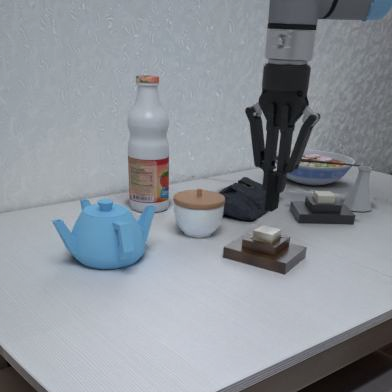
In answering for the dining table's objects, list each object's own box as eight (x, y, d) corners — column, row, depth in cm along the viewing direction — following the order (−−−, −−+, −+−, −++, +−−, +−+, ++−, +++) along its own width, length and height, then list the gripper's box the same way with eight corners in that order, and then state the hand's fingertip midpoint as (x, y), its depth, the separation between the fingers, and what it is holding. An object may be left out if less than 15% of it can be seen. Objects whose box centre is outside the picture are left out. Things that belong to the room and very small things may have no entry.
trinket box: (225, 242, 104) (229, 196, 99) (174, 241, 103) (174, 195, 98) (219, 224, 113) (222, 182, 108) (172, 224, 112) (172, 181, 107)
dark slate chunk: (192, 212, 119) (192, 192, 117) (227, 191, 136) (229, 173, 133) (252, 224, 114) (255, 203, 111) (282, 200, 131) (284, 181, 128)
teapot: (52, 267, 90) (44, 208, 84) (85, 238, 103) (80, 185, 97) (133, 278, 88) (131, 218, 82) (157, 247, 100) (157, 193, 94)
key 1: (280, 239, 97) (281, 229, 95) (271, 245, 94) (272, 235, 93) (261, 234, 98) (262, 224, 97) (252, 240, 95) (253, 230, 94)
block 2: (341, 211, 125) (344, 194, 123) (353, 224, 117) (357, 207, 114) (289, 209, 124) (291, 193, 122) (298, 223, 116) (301, 206, 114)
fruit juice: (126, 202, 124) (122, 73, 109) (164, 200, 126) (164, 74, 111) (133, 214, 116) (128, 77, 101) (172, 212, 119) (174, 78, 103)
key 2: (329, 199, 120) (330, 191, 119) (333, 205, 117) (335, 196, 116) (312, 199, 120) (314, 190, 119) (317, 204, 117) (318, 195, 115)
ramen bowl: (352, 178, 152) (358, 150, 148) (354, 199, 134) (361, 168, 129) (270, 170, 157) (273, 143, 152) (261, 190, 138) (264, 159, 133)
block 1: (305, 257, 99) (308, 238, 97) (284, 274, 92) (287, 254, 89) (246, 242, 104) (248, 223, 102) (222, 257, 97) (224, 237, 95)
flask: (363, 203, 131) (372, 163, 126) (376, 212, 125) (386, 171, 120) (337, 204, 130) (345, 163, 124) (349, 213, 124) (358, 171, 118)
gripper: (240, 60, 80) (230, 207, 93) (318, 66, 74) (296, 221, 87) (261, 58, 85) (249, 197, 98) (335, 64, 80) (312, 210, 93)
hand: (271, 208), depth 93 cm, fingers closed
